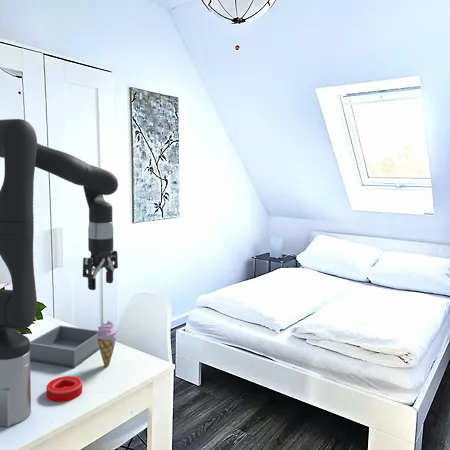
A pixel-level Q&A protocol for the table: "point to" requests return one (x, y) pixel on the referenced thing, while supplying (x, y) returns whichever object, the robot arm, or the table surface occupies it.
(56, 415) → the table surface
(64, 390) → the decorative ornament
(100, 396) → the table surface
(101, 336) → the ice cream cone
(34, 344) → the bin
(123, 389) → the table surface
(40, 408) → the table surface
